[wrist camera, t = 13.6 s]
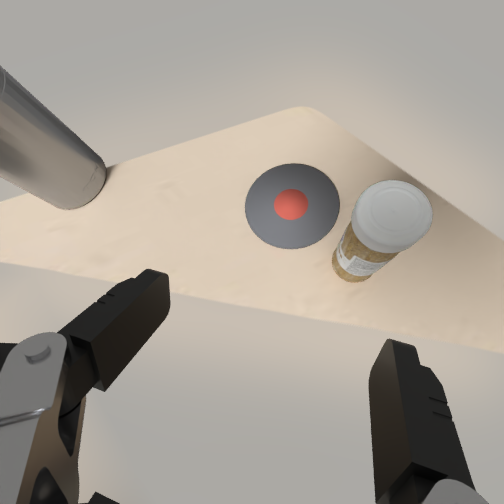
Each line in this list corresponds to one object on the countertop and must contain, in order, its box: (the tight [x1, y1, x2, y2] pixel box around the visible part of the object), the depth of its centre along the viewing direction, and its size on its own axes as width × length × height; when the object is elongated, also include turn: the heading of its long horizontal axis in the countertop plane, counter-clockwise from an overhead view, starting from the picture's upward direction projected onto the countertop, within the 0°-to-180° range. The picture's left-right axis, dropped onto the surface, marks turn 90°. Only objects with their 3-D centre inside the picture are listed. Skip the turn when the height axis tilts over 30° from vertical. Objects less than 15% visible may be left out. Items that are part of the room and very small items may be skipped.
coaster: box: [245, 164, 339, 249], centre depth 33 cm, size 11×11×1 cm
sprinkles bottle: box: [332, 180, 433, 282], centre depth 24 cm, size 5×5×13 cm
